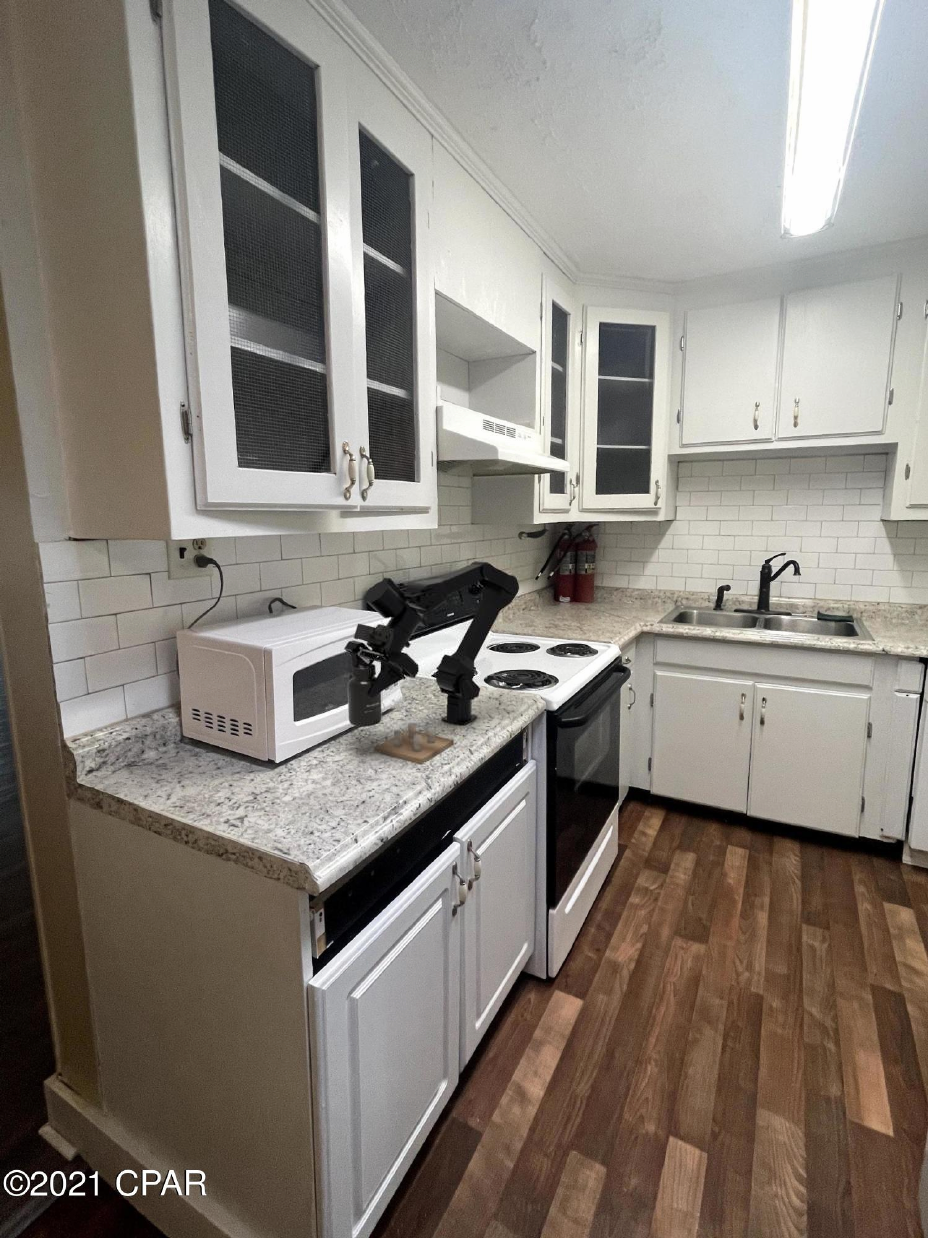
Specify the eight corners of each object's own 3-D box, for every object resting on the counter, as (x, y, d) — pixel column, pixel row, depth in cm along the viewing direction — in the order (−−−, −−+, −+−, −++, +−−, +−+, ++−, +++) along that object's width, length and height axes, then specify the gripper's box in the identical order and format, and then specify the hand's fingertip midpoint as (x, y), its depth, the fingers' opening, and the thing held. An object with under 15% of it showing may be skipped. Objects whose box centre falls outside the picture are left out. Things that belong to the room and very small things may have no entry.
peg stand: (408, 733, 133) (408, 716, 132) (453, 744, 127) (453, 726, 126) (374, 751, 123) (374, 733, 122) (421, 764, 117) (421, 745, 116)
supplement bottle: (375, 728, 118) (372, 671, 116) (343, 726, 120) (340, 669, 118) (386, 716, 125) (384, 662, 123) (356, 714, 127) (354, 660, 124)
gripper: (349, 603, 127) (307, 663, 121) (406, 613, 114) (362, 681, 109) (379, 633, 134) (341, 691, 129) (436, 645, 122) (397, 710, 116)
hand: (359, 692), depth 120 cm, fingers closed on supplement bottle, 7 cm apart
